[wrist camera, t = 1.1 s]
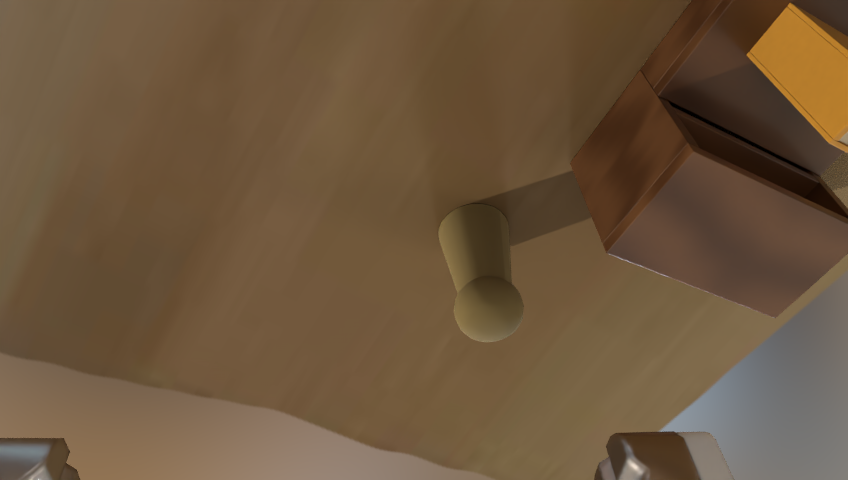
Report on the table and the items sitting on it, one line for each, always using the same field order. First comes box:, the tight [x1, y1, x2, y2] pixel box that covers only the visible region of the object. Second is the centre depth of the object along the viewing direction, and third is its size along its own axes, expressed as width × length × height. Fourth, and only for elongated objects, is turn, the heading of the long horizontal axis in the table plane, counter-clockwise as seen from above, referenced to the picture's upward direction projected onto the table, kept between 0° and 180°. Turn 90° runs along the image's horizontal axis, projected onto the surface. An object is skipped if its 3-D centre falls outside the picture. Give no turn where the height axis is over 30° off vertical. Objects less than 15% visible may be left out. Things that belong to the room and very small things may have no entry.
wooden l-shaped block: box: [570, 0, 848, 318], centre depth 51 cm, size 20×16×11 cm
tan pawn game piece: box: [439, 204, 524, 342], centre depth 57 cm, size 6×6×11 cm
